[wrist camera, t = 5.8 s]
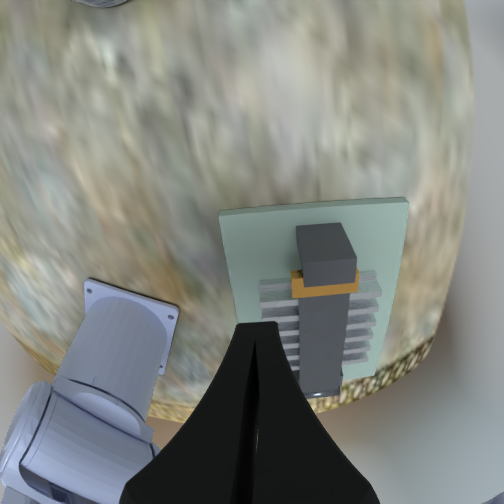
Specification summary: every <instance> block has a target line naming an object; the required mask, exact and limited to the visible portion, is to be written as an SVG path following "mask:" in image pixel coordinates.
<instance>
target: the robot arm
mask: <svg viewBox="0 0 504 504" xmlns="http://www.w3.org/2000/svg"><path fill="white" fill-rule="evenodd" d="M90 289H91V290H90ZM84 300H85V318H84V320H83V322H82V324H81V326H80V328H79V330H78V331H77V333H76V335H75V337H74V339H73V341H72V343H71V345H70V347H69V349H68V351H67V353H66V355H65V357H64V359H63V361H62V363H61V365H60V367H59V369H58V372H57V374H56V376H55V378H54V380H53V382H52V383H51V384H49V383H48V382H46V381H45V380H42V381H41V382H36V383H33V384H32V385H31V386H30V388H29V389H28V391H27V392H26V394H25V396H24V398H23V400H22V402H21V403H20V405H19V407H18V410H17V412H16V414H15V416H14V418H13V420H12V423H11V425H10V428H9V430H8V433H7V436H6V439H5V442H4V446H3V449H2V451H1V455H0V479H1V482H2V484H3V485H4V487H5V492H4V496H3V499H2V502H1V504H380V502H379V499H378V497H377V495H376V493H375V491H374V489H373V488H372V486H371V484H370V483H369V481H368V480H367V479H366V478H365V477H363V475H362V474H361V473H360V472H359V471H358V470H357V469H356V468H355V467H354V466H353V465H352V463H351V462H350V461H349V460H348V459H347V457H346V456H345V455H344V454H343V452H342V451H341V450H340V449H339V447H338V446H337V445H336V443H335V442H334V441H333V440H332V438H331V437H330V435H329V434H328V433H327V431H326V430H325V428H324V427H323V425H322V424H321V422H320V421H319V419H318V418H317V416H316V415H315V413H314V411H313V410H312V408H311V406H310V405H309V403H308V401H307V399H306V398H305V396H304V394H303V392H302V390H301V388H300V386H299V384H298V382H297V380H296V378H295V376H294V374H293V371H292V369H291V367H290V364H289V362H288V359H287V357H286V354H285V351H284V348H283V345H282V342H281V338H280V334H279V329H278V323H277V322H276V321H265V322H248V323H238V324H237V325H236V328H235V331H234V334H233V337H232V340H231V342H230V345H229V347H228V350H227V352H226V354H225V357H224V359H223V361H222V363H221V365H220V367H219V369H218V371H217V373H216V375H215V377H214V379H213V380H212V382H211V384H210V386H209V387H208V389H207V391H206V393H205V394H204V396H203V397H202V399H201V401H200V402H199V404H198V405H197V407H196V408H195V410H194V411H193V412H192V414H191V415H190V417H189V418H188V419H187V421H186V422H185V423H184V425H183V426H182V427H181V428H180V430H179V431H178V432H177V434H176V435H175V436H174V437H173V438H172V439H171V440H170V442H169V443H168V444H167V445H166V446H165V447H164V448H163V449H162V450H160V449H159V447H158V446H157V445H156V444H155V443H153V442H152V441H151V440H152V436H153V431H154V429H153V428H151V427H149V426H148V425H146V419H147V416H148V411H149V407H150V403H151V399H152V395H153V391H154V387H155V383H156V379H157V375H158V374H159V375H162V374H164V372H165V367H166V363H167V359H168V355H169V350H170V346H171V342H172V338H173V334H174V329H175V325H176V321H177V317H178V313H179V309H178V308H177V307H176V306H174V305H170V304H167V303H164V302H160V301H157V300H154V299H151V298H147V297H144V296H141V295H138V294H134V293H131V292H128V291H125V290H122V289H119V288H116V287H113V286H110V285H107V284H104V283H101V282H98V281H95V280H92V279H87V280H86V281H85V283H84ZM170 315H172V316H170ZM257 434H258V441H257ZM482 504H504V492H502V493H500V494H499V495H497V496H496V497H494V498H493V499H491V500H489V501H487V502H484V503H482Z"/></svg>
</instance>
